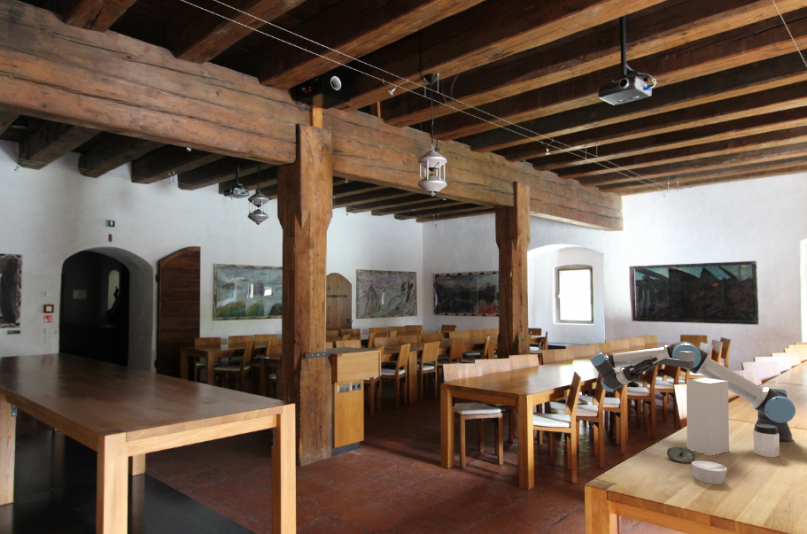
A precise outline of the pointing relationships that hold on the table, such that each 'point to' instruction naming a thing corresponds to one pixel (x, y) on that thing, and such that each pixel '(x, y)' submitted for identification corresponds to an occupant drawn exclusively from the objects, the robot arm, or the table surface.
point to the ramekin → (709, 472)
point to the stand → (707, 416)
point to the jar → (766, 440)
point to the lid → (681, 454)
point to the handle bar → (680, 360)
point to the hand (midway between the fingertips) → (665, 355)
